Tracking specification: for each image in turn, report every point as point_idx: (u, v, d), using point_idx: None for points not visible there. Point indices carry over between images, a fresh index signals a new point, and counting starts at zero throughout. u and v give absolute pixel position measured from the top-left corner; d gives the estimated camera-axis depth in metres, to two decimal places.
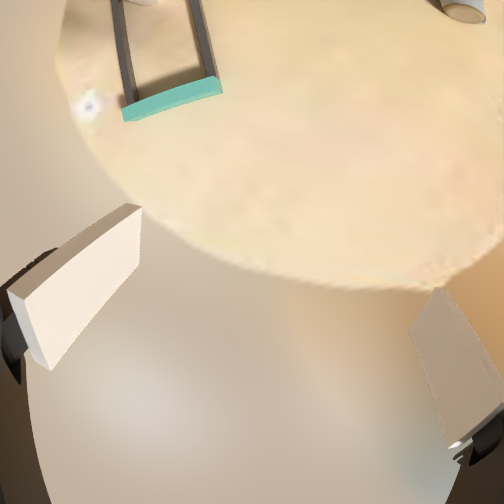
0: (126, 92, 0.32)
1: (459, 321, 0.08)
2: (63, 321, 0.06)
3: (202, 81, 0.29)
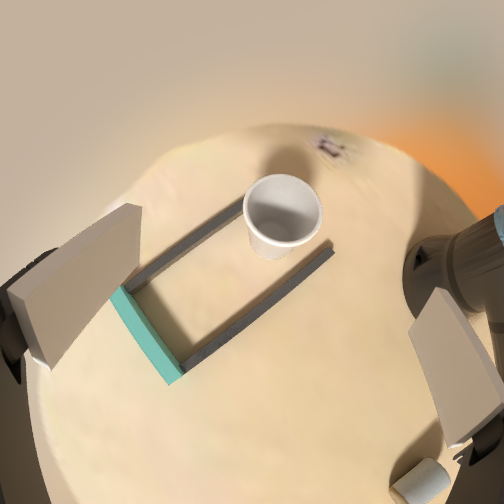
0: (139, 275, 0.33)
1: (459, 321, 0.08)
2: (63, 321, 0.06)
3: (171, 367, 0.29)
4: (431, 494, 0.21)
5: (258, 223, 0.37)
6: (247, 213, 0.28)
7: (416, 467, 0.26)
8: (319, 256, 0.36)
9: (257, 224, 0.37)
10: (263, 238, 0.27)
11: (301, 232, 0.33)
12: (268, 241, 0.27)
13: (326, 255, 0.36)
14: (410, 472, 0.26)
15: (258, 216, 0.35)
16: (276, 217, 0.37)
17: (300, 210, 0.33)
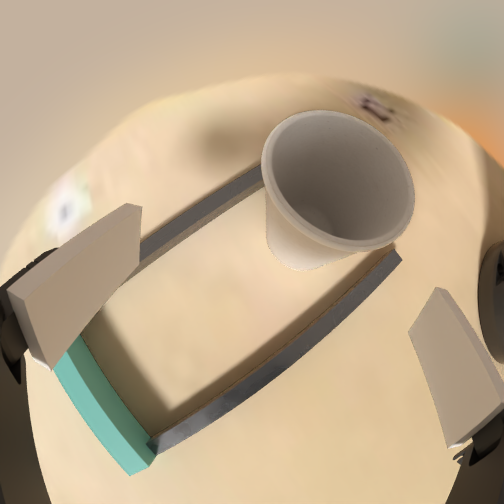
0: None
1: (459, 321, 0.08)
2: (63, 321, 0.06)
3: (131, 452, 0.13)
4: None
5: None
6: (271, 176, 0.12)
7: None
8: (380, 265, 0.20)
9: None
10: (308, 232, 0.12)
11: (361, 224, 0.18)
12: (320, 239, 0.12)
13: (390, 264, 0.20)
14: None
15: (283, 194, 0.20)
16: (311, 198, 0.21)
17: (360, 185, 0.17)
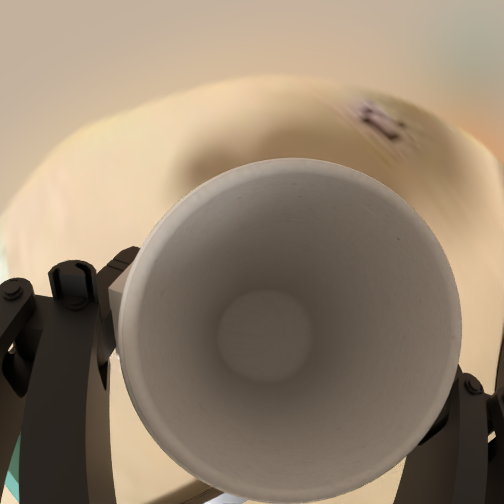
0: None
1: None
2: None
3: None
4: None
5: (232, 299, 0.14)
6: (133, 371, 0.05)
7: None
8: None
9: (229, 301, 0.14)
10: (214, 486, 0.04)
11: (353, 349, 0.10)
12: (238, 496, 0.04)
13: None
14: None
15: (229, 289, 0.12)
16: (280, 284, 0.14)
17: (357, 287, 0.10)
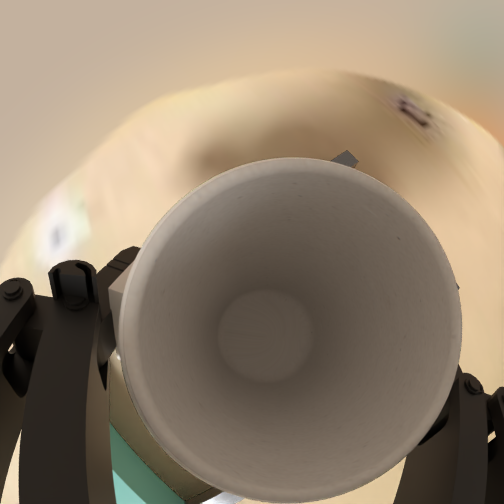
0: None
1: None
2: None
3: None
4: None
5: (233, 298, 0.14)
6: (134, 370, 0.05)
7: None
8: None
9: (229, 300, 0.14)
10: (215, 486, 0.04)
11: (354, 349, 0.10)
12: (238, 495, 0.04)
13: None
14: None
15: (229, 289, 0.12)
16: (280, 284, 0.14)
17: (357, 287, 0.10)
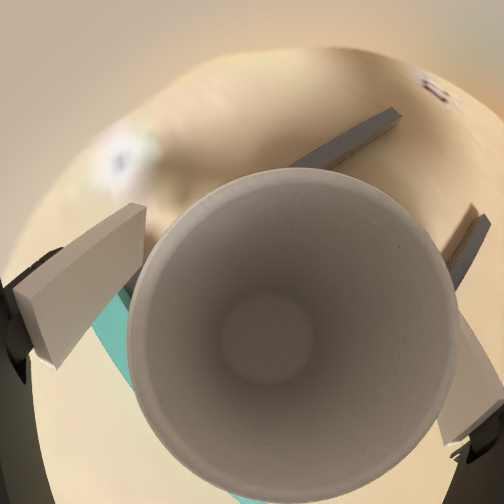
0: None
1: None
2: (69, 320, 0.07)
3: None
4: None
5: (234, 302, 0.14)
6: (142, 378, 0.05)
7: None
8: (478, 227, 0.17)
9: (231, 304, 0.14)
10: (221, 487, 0.04)
11: (354, 353, 0.10)
12: (243, 496, 0.04)
13: (484, 226, 0.17)
14: None
15: (231, 293, 0.13)
16: (281, 287, 0.14)
17: (358, 292, 0.10)
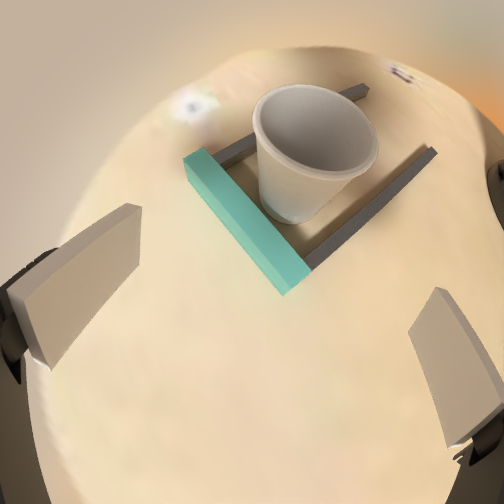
0: (229, 148, 0.25)
1: (459, 321, 0.08)
2: (63, 321, 0.06)
3: (295, 258, 0.20)
4: None
5: None
6: (260, 127, 0.15)
7: None
8: (426, 153, 0.27)
9: None
10: (289, 163, 0.15)
11: None
12: (298, 168, 0.15)
13: (431, 153, 0.27)
14: None
15: None
16: None
17: (336, 146, 0.20)
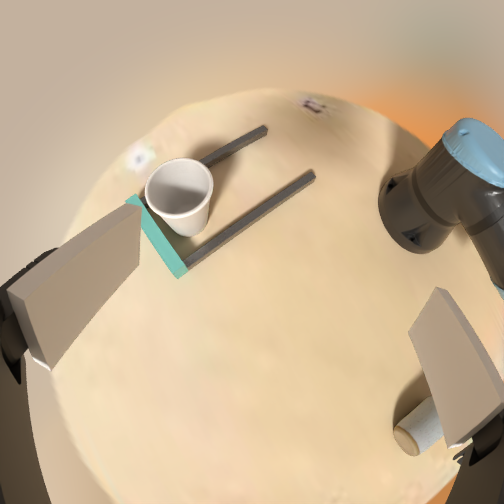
0: None
1: (459, 321, 0.08)
2: (63, 321, 0.06)
3: (176, 257, 0.36)
4: (436, 431, 0.27)
5: (177, 204, 0.41)
6: (147, 191, 0.31)
7: (418, 405, 0.32)
8: (303, 178, 0.43)
9: (176, 205, 0.40)
10: (156, 211, 0.30)
11: None
12: (160, 214, 0.30)
13: (308, 178, 0.43)
14: (413, 410, 0.32)
15: (174, 197, 0.39)
16: (193, 198, 0.40)
17: (204, 190, 0.36)
